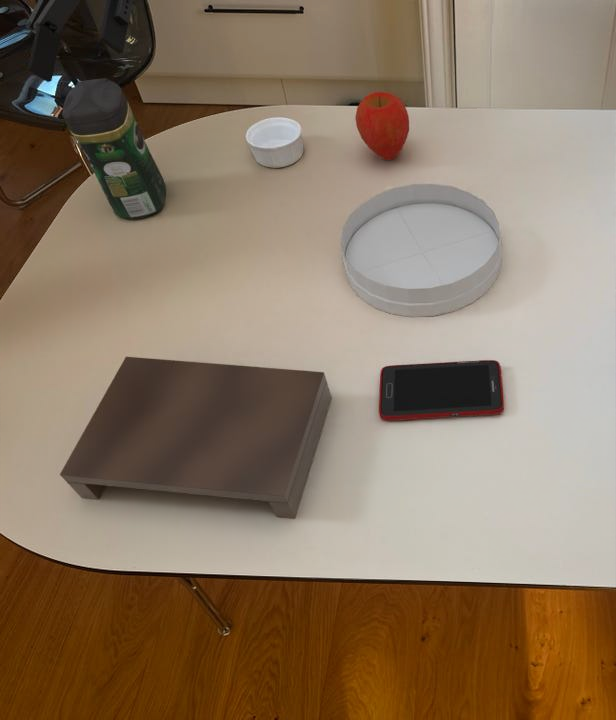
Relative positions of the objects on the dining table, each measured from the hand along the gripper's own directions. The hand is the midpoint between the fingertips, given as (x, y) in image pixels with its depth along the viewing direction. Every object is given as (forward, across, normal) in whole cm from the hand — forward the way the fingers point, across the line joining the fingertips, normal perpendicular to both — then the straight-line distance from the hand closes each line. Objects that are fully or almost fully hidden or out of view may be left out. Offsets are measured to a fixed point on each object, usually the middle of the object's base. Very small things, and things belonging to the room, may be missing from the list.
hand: (74, 61), depth 88 cm
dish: (+18, -31, -35) cm, 50 cm away
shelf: (+46, -17, -14) cm, 51 cm away
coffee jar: (+7, +12, -21) cm, 26 cm away
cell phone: (+39, -39, -28) cm, 62 cm away
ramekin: (-5, -3, -34) cm, 34 cm away
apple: (-5, -19, -41) cm, 45 cm away
